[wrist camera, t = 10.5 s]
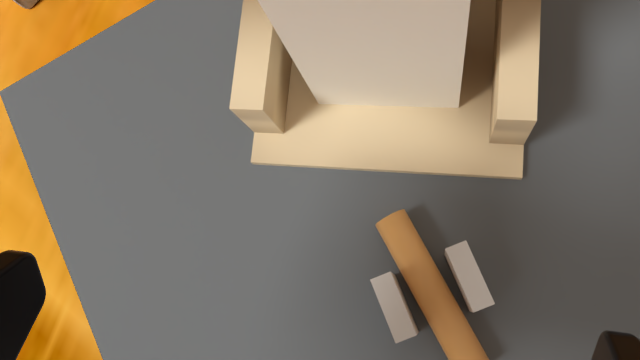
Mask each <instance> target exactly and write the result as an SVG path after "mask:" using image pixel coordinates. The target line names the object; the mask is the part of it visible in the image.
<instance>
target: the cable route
mask: <svg viewBox="0 0 640 360" xmlns="http://www.w3.org/2000/svg"><path fill="white" fill-rule="evenodd" d="M375 226H376V228H377V229H378V231H379V233H380V235H381V237H382V239H383V241H384V242H385V244H386V246H387V248H388V250H389V252H390V253H391V255H392V257H393V259H394V261H395V263H396V264H397V266H398V268H399V270H400V272H401V274H402V275H403V277H404V279H405V281H406V283H407V285H408V286H409V288H410V290H411V292H412V294H413V296H414V297H415V299H416V301H417V303H418V305H419V307H420V308H421V310H422V312H423V314H424V316H425V318H426V319H427V321H428V323H429V325H430V327H431V329H432V330H433V332H434V334H435V336H436V338H437V340H438V341H439V343H440V345H441V347H442V349H443V351H444V352H445V354H446V356H447V358H448V360H489V358H488V357H487V355H486V353H485V351H484V349H483V348H482V346H481V344H480V342H479V341H478V339H477V337H476V335H475V334H474V332H473V330H472V328H471V326H470V325H469V323H468V321H467V319H466V318H465V316H464V314H463V312H462V310H461V309H460V307H459V305H458V303H457V302H456V300H455V298H454V296H453V294H452V293H451V291H450V289H449V287H448V286H447V284H446V282H445V280H444V278H443V277H442V275H441V273H440V271H439V270H438V268H437V266H436V264H435V262H434V261H433V259H432V257H431V255H430V254H429V252H428V250H427V248H426V247H425V245H424V243H423V241H422V239H421V238H420V236H419V234H418V232H417V231H416V229H415V227H414V225H413V223H412V222H411V220H410V218H409V216H408V215H407V213H406V211H405V209H402V210H399V211H396V212H394V213H392V214H390V215H388V216H386V217H385V218H383V219H382V220H380V221H379V222H377V223H376V225H375ZM444 255H445V257H446V260H447V262H448V264H449V266H450V269H451V271H452V273H453V276H454V278H455V280H456V282H457V285H458V287H459V289H460V291H461V294H462V296H463V298H464V301H465V303H466V305H467V307H468V310H469V312H473V313H474V312H476V311H479V310H481V309H484V308H486V307H489V306H491V305H494V304H495V303H494V301H493V298H492V296H491V294H490V292H489V290H488V287H487V285H486V283H485V281H484V279H483V276H482V274H481V272H480V270H479V267H478V265H477V263H476V261H475V259H474V256H473V254H472V252H471V250H470V248H469V245H468V243H467V241H466V240H465V241H463V242H460V243H458V244H455V245H453V246H450V247H448V248H446V249H445V253H444ZM370 281H371V284H372V286H373V289H374V291H375V293H376V296H377V298H378V301H379V303H380V306H381V308H382V311H383V313H384V316H385V318H386V321H387V323H388V326H389V328H390V331H391V333H392V336H393V338H394V341H395V343H399V342H401V341H404V340H406V339H409V338H411V337H414V336H416V335H417V334H418V333H419V331H418V329H417V326H416V324H415V321H414V319H413V317H412V314H411V312H410V309H409V307H408V304H407V302H406V300H405V297H404V295H403V292H402V290H401V288H400V285H399V283H398V280H397V278H396V276H395V274H393V273H392V272H391V271H390V272H388V273H385V274H383V275H380V276H378V277H375V278H373V279H370Z"/></svg>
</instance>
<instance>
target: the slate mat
mask: <svg viewBox="0 0 640 360" xmlns="http://www.w3.org/2000/svg"><path fill="white" fill-rule="evenodd" d="M242 5H243V0H155V1H153V2H152V3H150V4H148V5H147V6H145V7H143V8H141V9H140V10H138V11H136V12H135V13H133V14H131V15H130V16H128V17H126V18H124V19H123V20H121V21H119V22H118V23H116V24H114V25H113V26H111V27H109V28H107V29H106V30H104V31H102V32H101V33H99V34H97V35H96V36H94V37H92V38H90V39H89V40H87V41H85V42H84V43H82V44H80V45H79V46H77V47H75V48H73V49H72V50H70V51H68V52H67V53H65V54H63V55H62V56H60V57H58V58H56V59H55V60H53V61H51V62H50V63H48V64H46V65H45V66H43V67H41V68H39V69H38V70H36V71H34V72H33V73H31V74H29V75H28V76H26V77H24V78H22V79H21V80H19V81H17V82H16V83H14V84H12V85H11V86H9V87H7V88H5V89H4V90H2V91H0V95H1V98H2V100H3V103H4V105H5V108H6V111H7V113H8V116H9V118H10V121H11V124H12V126H13V129H14V131H15V134H16V136H17V139H18V142H19V144H20V147H21V149H22V152H23V154H24V157H25V160H26V162H27V165H28V167H29V170H30V173H31V175H32V178H33V180H34V183H35V185H36V188H37V191H38V193H39V196H40V198H41V201H42V203H43V206H44V209H45V211H46V214H47V216H48V219H49V222H50V224H51V227H52V229H53V232H54V234H55V237H56V240H57V242H58V245H59V247H60V250H61V252H62V255H63V258H64V260H65V263H66V265H67V268H68V271H69V273H70V276H71V278H72V281H73V283H74V286H75V289H76V291H77V294H78V296H79V299H80V301H81V304H82V307H83V309H84V312H85V314H86V317H87V319H88V322H89V325H90V327H91V330H92V332H93V335H94V338H95V340H96V343H97V345H98V348H99V350H100V353H101V356H102V358H103V360H448V358H447V356H446V354H445V352H444V351H443V349H442V347H441V345H440V343H439V341H438V340H437V338H436V336H435V334H434V332H433V330H432V329H431V327H430V325H429V323H428V321H427V319H426V318H425V316H424V314H423V312H422V310H421V308H420V307H419V305H418V303H417V301H416V299H415V297H414V296H413V294H412V292H411V290H410V288H409V286H408V285H407V283H406V281H405V279H404V277H403V275H402V274H401V272H400V270H399V268H398V266H397V264H396V263H395V261H394V259H393V257H392V255H391V253H390V252H389V250H388V248H387V246H386V244H385V242H384V241H383V239H382V237H381V235H380V233H379V231H378V229H377V228H376V226H375V225H376V223H377V222H379V221H380V220H382V219H383V218H385V217H386V216H388V215H390V214H392V213H394V212H396V211H399V210H402V209H405V211H406V213H407V215H408V216H409V218H410V220H411V222H412V223H413V225H414V227H415V229H416V231H417V232H418V234H419V236H420V238H421V239H422V241H423V243H424V245H425V247H426V248H427V250H428V252H429V254H430V255H431V257H432V259H433V261H434V262H435V264H436V266H437V268H438V270H439V271H440V273H441V275H442V277H443V278H444V280H445V282H446V284H447V286H448V287H449V289H450V291H451V293H452V294H453V296H454V298H455V300H456V302H457V303H458V305H459V307H460V309H461V310H462V312H463V314H464V316H465V318H466V319H467V321H468V323H469V325H470V326H471V328H472V330H473V332H474V334H475V335H476V337H477V339H478V341H479V342H480V344H481V346H482V348H483V349H484V351H485V353H486V355H487V357H488V358H489V360H591V359H592V356H593V353H594V350H595V347H596V344H597V341H598V338H599V336H600V334H601V333H602V332H603V331H606V330H609V331H617V332H624V333H630V334H633V335H634V336H636V337H637V338H638V339H639V340H640V0H541V16H540V46H539V75H538V105H537V122H536V123H535V125H534V127H533V129H532V131H531V133H530V134H529V136H528V138H527V140H526V142H525V144H524V151H523V178H522V179H521V180H518V179H500V178H483V177H465V176H448V175H430V174H413V173H395V172H378V171H360V170H343V169H326V168H308V167H291V166H273V165H256V164H252V163H251V155H252V147H253V138H254V132H253V131H252V130H251V129H250V128H249V127H248V126H247V125H246V124H245V123H244V122H243V121H242V120H241V119H239V118H238V117H237V116H236V115H235V114H234V113H233V112H232V111H231V110H230V109H229V106H230V99H231V91H232V83H233V75H234V68H235V60H236V52H237V44H238V36H239V29H240V21H241V13H242ZM465 240H466V241H467V243H468V245H469V248H470V250H471V252H472V254H473V256H474V259H475V261H476V263H477V265H478V267H479V270H480V272H481V274H482V276H483V279H484V281H485V283H486V285H487V287H488V290H489V292H490V294H491V296H492V298H493V301H494V303H495V304H494V305H491V306H489V307H486V308H484V309H481V310H479V311H476V312H474V313H473V312H469V310H468V307H467V305H466V303H465V301H464V298H463V296H462V294H461V291H460V289H459V287H458V285H457V282H456V280H455V278H454V276H453V273H452V271H451V269H450V266H449V264H448V262H447V260H446V257H445V255H444V253H445V249H446V248H448V247H450V246H453V245H455V244H458V243H460V242H463V241H465ZM390 271H391V272H392V273H393V274H395V276H396V278H397V280H398V283H399V285H400V288H401V290H402V292H403V295H404V297H405V300H406V302H407V304H408V307H409V309H410V312H411V314H412V317H413V319H414V321H415V324H416V326H417V329H418V331H419V333H418V334H417V335H416V336H414V337H411V338H409V339H406V340H404V341H401V342H399V343H395V341H394V338H393V336H392V333H391V331H390V328H389V326H388V323H387V321H386V318H385V316H384V313H383V311H382V308H381V306H380V303H379V301H378V298H377V296H376V293H375V291H374V289H373V286H372V284H371V281H370V279H373V278H375V277H378V276H380V275H383V274H385V273H388V272H390Z"/></svg>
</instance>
